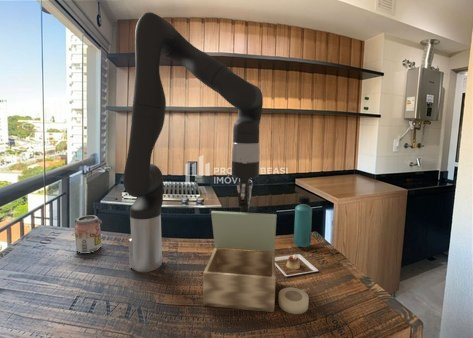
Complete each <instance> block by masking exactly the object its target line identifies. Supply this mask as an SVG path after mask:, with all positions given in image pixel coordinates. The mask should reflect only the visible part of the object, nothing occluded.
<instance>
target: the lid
mask: <svg viewBox="0 0 473 338" xmlns="http://www.w3.org/2000/svg"><path fill="white" fill-rule="evenodd" d="M210 215H211V224H212V233H213V241H214V243H213V244H214V249H215V248H216V249H229V250H243V251H257V252H271V253H275V247H276V246H275V245H276V230H277V214H276V213H275V214H274V213H273V214H272V213H256V212H248V213H242V212H240V211H223V210H221V211H220V210H211V212H210Z"/></svg>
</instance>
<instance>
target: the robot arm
mask: <svg viewBox="0 0 473 338" xmlns="http://www.w3.org/2000/svg"><path fill="white" fill-rule="evenodd" d="M134 34H135V35H134V43H135V44H134V45H135V46H134V47H135V48H134V49H135V51H134V52H135V55H134V56H135V67H134V69H135V72H134V84H133V85H134V86H133V87H134V88H133V99H132V108H131V120H130V122H131V123H130V130H129V131H130V132H129V144H128V150H127V156H126V161H125V167H124V171H123V176H122V178H123V180H122V183H123V187H124V190H125V191H126V193H127V194H128V195H130V196H131V198H132V197H133V198H135V200H134V202H133V203H132V205H131V206H130V208H129V220H130V222H129V223H130V238H129V240H128V254H129V255H128V259H129V269H131V268H132V270H133V271H136V272H139V273H147V272H152V271H156V270H157V269H159V268H160V267H161V266H162V265H163V255H162V254H163V252H162V249H163V248H162V219H161V218H162V216H161V210H162V206H163V203H164V202H163V201H164V177H163V174H162V171H161V169H160V168H159V166H157V165H156V164H153V163H151V161H152V160H151V159H152V154H153V150H154V148H155V145H156V143H157V141H158V140H159V137H160V135H161V133H162V130H163V128H164V124H165V118H166V109H167V100H166V94H165V90H164V85H163V84H162V79H161V74H160V63H161V62H160V61H161V56H163V57H165V58H167V59H170V60H172V61H175V62H177V64H180V65H181V66H183V67H184V68H185V69H187V70H188V71H189V72H190V74H192V75H193V76H194V77H195V78H196V79H197V80H199V81H200V82H201V83H202V84H204V85H205V86H207V87H208V88H210V89H211V90H212V91H214V92H216V93H218V94H219V95H220V97H221V98H223V99H224V101H227V103H229V104H230V105H231V106H233V107H234V108H235V109H237V110H238V111H237V119H236V121H235V122H234V123H233V129H232V149H231V176H232V177H233V178H236V179H237V178H238V179H239V181H238V183H237V184H236V190H237V200H238V208H239V212H242V213H249V208H250V202H251V198H252V189H253V182H251V179H256V178H259V176H260V154H261V153H260V123H261V120H262V119H261V118H262V112H263V106H264V98H263V92H262V90H261V89H260V88H259V86H257V85H255V84H252V83H251V82H249V81H247V80H246V79H244V78H242V77H240V76H239V75H237V74H236V73H234V72H233V71H232V69H230V68H229V67H228V66H227V65H225V64H224V63H222V62H220V61H219V60H217V59H216V58H214V57H213V56H211V55H210V54H209V53H208V54H207V53H205V52H204V51H202V50H200V49H198V48H197V46H194V45H193V44H192V43H190V41H188V40H187V39H186V38H185V37H184V36H183V35H182V34H181V33H180V32H179V31H178V30H177V29H176V28H175V27H174V26H173V25H172V23H170V22H168V21H167V20H165V18H162V17H161V16H160V15H159V14H156V13H155V12H149V11H148V12H146V13H143V14H142V15H141V16H140V17H139V19H138V21H137V23H136V26H135V32H134Z"/></svg>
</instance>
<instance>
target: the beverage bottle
mask: <svg viewBox="0 0 473 338" xmlns="http://www.w3.org/2000/svg"><path fill="white" fill-rule="evenodd" d="M310 200H311V199H310V197H309V196H305V195H300V196H299V197H298V203H299V204H298V205H296V206H295V208H294V209H295V210H294V213H295V214H294V225H293V227H294V228H293V230H294V231H293V244H294V245H295V246H297V247H299V248H300V247H301V248H307V247H310V246H311V244H312V242H311V240H312V228H313V227H312V223H313V222H312V218H313V217H312V216H313V208H312V207H311V206H310V205H308V204H311V203H310Z"/></svg>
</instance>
